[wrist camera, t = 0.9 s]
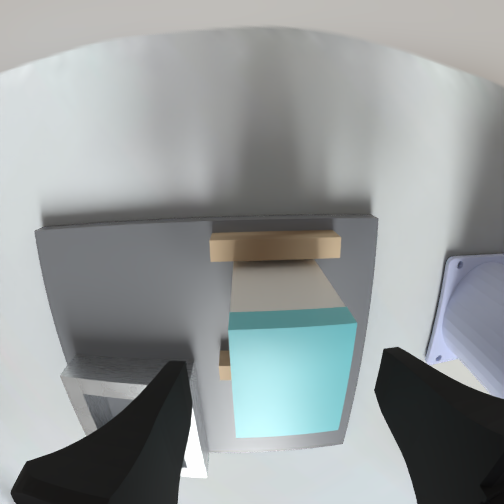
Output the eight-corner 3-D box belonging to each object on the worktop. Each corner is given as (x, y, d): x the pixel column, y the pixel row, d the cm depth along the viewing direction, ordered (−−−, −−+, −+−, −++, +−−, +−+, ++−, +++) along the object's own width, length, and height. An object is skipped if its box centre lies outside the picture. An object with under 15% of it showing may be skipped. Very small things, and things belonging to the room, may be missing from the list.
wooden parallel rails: (332, 230, 16) (341, 237, 15) (323, 359, 18) (328, 374, 17) (212, 232, 16) (209, 240, 15) (221, 364, 18) (219, 380, 17)
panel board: (371, 214, 17) (378, 218, 16) (340, 435, 22) (342, 443, 21) (43, 227, 16) (34, 230, 16) (103, 433, 21) (99, 441, 20)
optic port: (194, 359, 18) (188, 386, 16) (209, 452, 21) (207, 477, 18) (76, 353, 18) (60, 375, 15) (110, 443, 20) (102, 466, 18)
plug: (313, 256, 16) (357, 323, 10) (308, 341, 18) (338, 429, 11) (233, 259, 16) (228, 330, 10) (237, 344, 18) (236, 437, 11)
